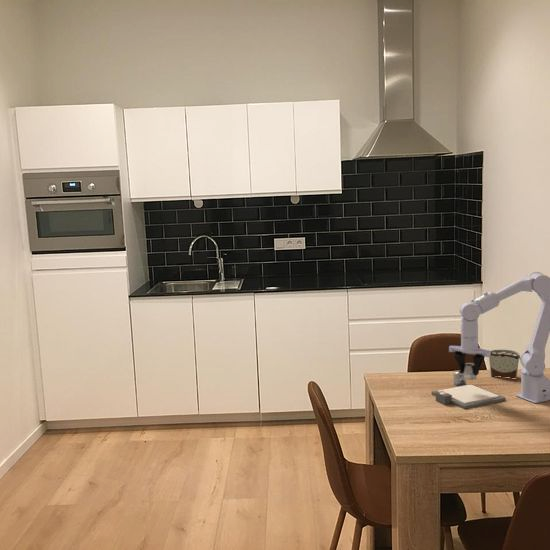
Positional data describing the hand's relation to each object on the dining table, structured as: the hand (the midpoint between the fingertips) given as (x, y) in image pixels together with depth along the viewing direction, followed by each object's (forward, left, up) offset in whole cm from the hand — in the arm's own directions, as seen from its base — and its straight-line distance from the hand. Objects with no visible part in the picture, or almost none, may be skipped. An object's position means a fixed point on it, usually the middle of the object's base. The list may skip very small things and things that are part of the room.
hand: (469, 373), depth 223 cm
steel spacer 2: (0, 0, -2) cm, 2 cm away
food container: (+13, -28, -9) cm, 32 cm away
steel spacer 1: (+13, -6, -9) cm, 17 cm away
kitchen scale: (0, +2, -8) cm, 9 cm away
